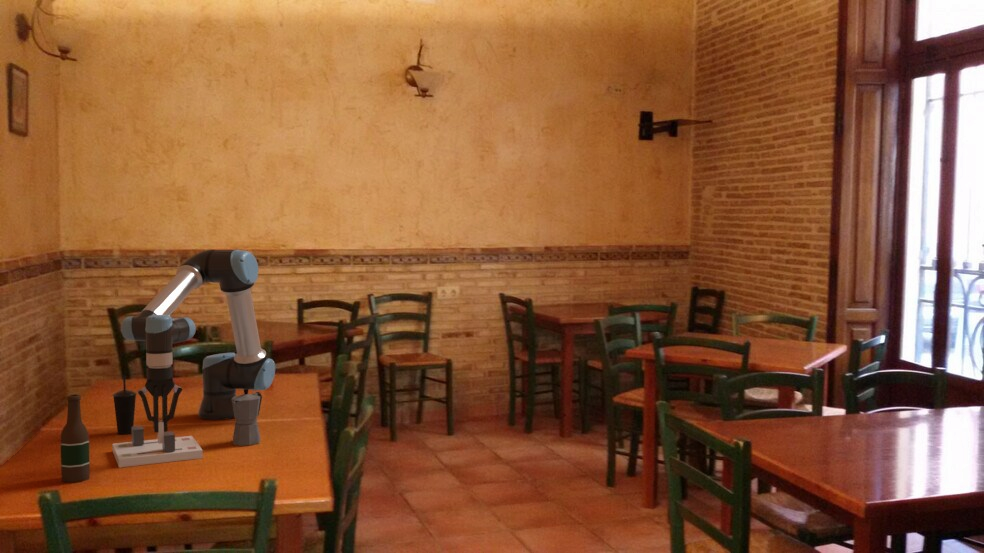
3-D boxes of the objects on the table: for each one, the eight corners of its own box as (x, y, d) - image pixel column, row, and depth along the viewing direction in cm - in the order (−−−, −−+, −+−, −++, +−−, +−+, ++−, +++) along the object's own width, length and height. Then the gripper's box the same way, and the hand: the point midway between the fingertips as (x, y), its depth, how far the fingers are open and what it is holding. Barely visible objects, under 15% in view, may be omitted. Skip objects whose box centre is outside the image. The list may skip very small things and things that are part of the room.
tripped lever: (172, 447, 279) (172, 431, 279) (175, 450, 275) (174, 434, 275) (162, 448, 278) (162, 432, 278) (164, 452, 274) (164, 435, 273)
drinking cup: (128, 436, 304) (127, 377, 302) (108, 434, 305) (107, 376, 304) (142, 431, 311) (140, 373, 310) (122, 429, 313) (121, 372, 311)
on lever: (141, 441, 287) (141, 425, 286) (143, 444, 282) (143, 428, 282) (131, 442, 285) (131, 426, 285) (133, 445, 281) (133, 429, 280)
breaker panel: (191, 443, 295) (191, 435, 295) (202, 458, 278) (202, 449, 277) (112, 451, 284) (112, 443, 284) (118, 467, 266) (118, 458, 266)
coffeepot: (247, 448, 289) (247, 393, 288) (222, 446, 292) (221, 391, 291) (273, 437, 304) (273, 384, 302) (249, 435, 307) (248, 383, 305)
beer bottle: (66, 475, 258) (64, 392, 257) (94, 474, 259) (92, 392, 257) (55, 483, 251) (53, 398, 249) (84, 482, 251) (82, 398, 250)
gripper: (180, 362, 280) (181, 437, 282) (135, 365, 274) (136, 441, 276) (183, 366, 273) (185, 442, 275) (138, 369, 267) (139, 447, 269)
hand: (160, 442), depth 275 cm, fingers closed
